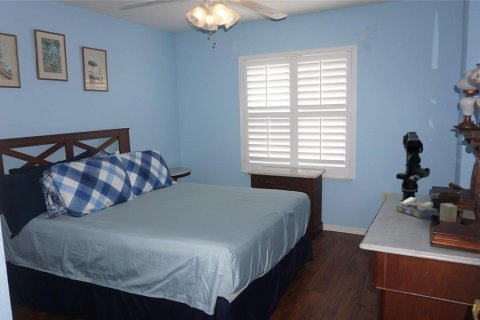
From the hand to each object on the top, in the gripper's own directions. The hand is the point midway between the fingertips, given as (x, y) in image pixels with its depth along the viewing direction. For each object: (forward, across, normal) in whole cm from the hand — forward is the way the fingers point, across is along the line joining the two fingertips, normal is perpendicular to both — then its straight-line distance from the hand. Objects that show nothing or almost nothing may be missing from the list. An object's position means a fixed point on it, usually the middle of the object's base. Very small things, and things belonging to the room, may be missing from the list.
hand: (412, 190), depth 199 cm
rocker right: (+6, -1, -10) cm, 12 cm away
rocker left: (+7, -1, +1) cm, 7 cm away
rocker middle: (+7, -1, -4) cm, 8 cm away
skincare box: (+11, -13, -31) cm, 35 cm away
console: (+12, -1, -4) cm, 12 cm away
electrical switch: (+12, +15, -7) cm, 20 cm away
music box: (+12, 0, -22) cm, 25 cm away
